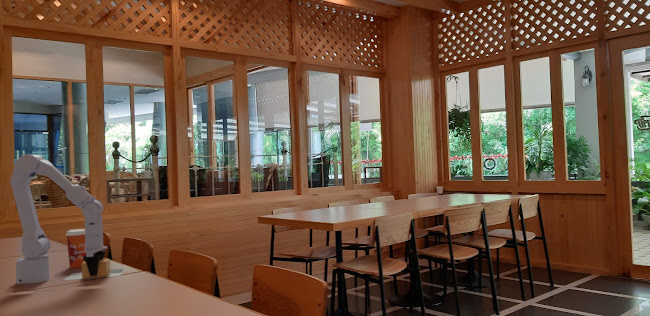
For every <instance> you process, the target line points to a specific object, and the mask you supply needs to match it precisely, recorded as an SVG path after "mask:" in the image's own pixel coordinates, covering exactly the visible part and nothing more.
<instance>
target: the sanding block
mask: <svg viewBox="0 0 650 316" xmlns="http://www.w3.org/2000/svg"><path fill="white" fill-rule="evenodd" d="M110 265H111V263H110V258H105V259H104V258H103V259H101V260H100V261H99V265H98V273H97V276H90V274H89V270H88V267H87V264H86V262H85V261H84V262H83V263H82V268H81V272H82V278H88V277H100V276H107V275H108V274H109V273H110V270H111V268H110V267H111V266H110Z"/></svg>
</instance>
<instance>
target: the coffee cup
mask: <svg viewBox="0 0 650 316" xmlns="http://www.w3.org/2000/svg"><path fill="white" fill-rule="evenodd" d="M65 236H66V240H67V241H66V242H67V253H68V262H69V268H70V269H82V263H83V262H84V259H83V256H85V255H86V251H85V248H86V247H85V228H78V229H70V230H67V231H66V233H65Z"/></svg>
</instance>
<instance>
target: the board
mask: <svg viewBox="0 0 650 316" xmlns="http://www.w3.org/2000/svg"><path fill="white" fill-rule="evenodd" d="M125 271H126V268H117V269H110V273H109V274H108V275H107V276H100V277H88V278H82V271H79V272H72V273H71V274H69V275H68V276H67V277H65V278H64V279H63V281H72V280H74V281H75V280H87V279H99V278H111V277H112V278H114V277H121V275H122V274H123V273H124V272H125Z"/></svg>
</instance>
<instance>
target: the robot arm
mask: <svg viewBox="0 0 650 316" xmlns="http://www.w3.org/2000/svg"><path fill="white" fill-rule="evenodd" d="M37 175H41V176H45V177H48V178H49V179H50V180H51V181H52V182H54V183H55V184H57V186H59V187H60V188H61V189H63V191H64V192H65V198H66V199H68V200H69V201H71V202H72V204H74V205H75V206H76V207H77V208H78V209H79V210H81V213H82V216H84V229H85V247H86V248H85V251H86V255H85V256H83V259H84V261H85V262H86V264H87V267H88V270H89V274H90V276H97V273H98V265H99V261H100V260H101V259H104V257H105V255H106V254H107V251H106V250H107V249H108V246H106V245H105V246H104V227H103V225H104V224H103V223H104V222H103V211H104V205H103V203H102V202H101V200H99V199H96V196H94V195H91V194H90V193H89V192H88V191H87V190H86V187H85V186H84V185H80V184H73V183H72V182H71V181H70V180H69V178H68V177H66V176H65V175H64V174H63V173H62V172H61V171H60V170H59V169H58V168H57V167H56V166H54V165H53V163H51V162H50V161H49V160H48V159H46V158H45V157H44V156H42V155H40V154H30V153H26V154H22V155H20V156H19V158H17V160H16V161H15V162H14V168H13V171H12V174H11V178H10V179H9V181H10V186H11V190H12V194H13V198H14V201H15V206H16V209H17V213H18V217H19V220H20V223H21V227H22V232H23V233H22V235H21V242H22V245H21V253H22V255H23V256H24V258H19V259H17V261H16V264H15V277H16V278H15V281H16V285H21V284H37V283H38V284H39V283H43V282H44V283H45V282H47V281H50V262H49V253H48V251H49V250H50V248H51V241H50V239H49V238H48V237H47V236H46V234H45V231H44V230H43V228H42V227H41V225H40V221H39V217H38V213H37V209H36V206H35V202H34V198H33V194H32V191H31V190H32V189H31V186H30V183H31V182H32V180H34V178H35V176H37Z"/></svg>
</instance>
